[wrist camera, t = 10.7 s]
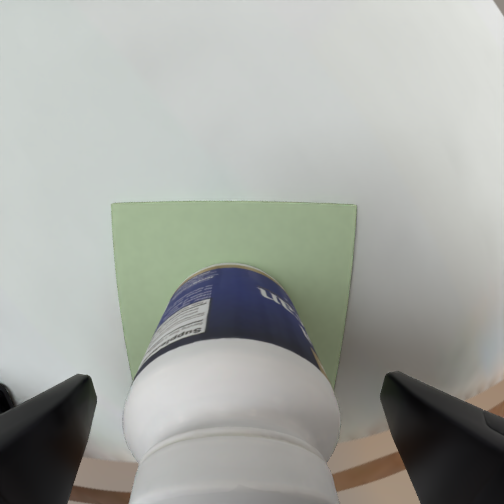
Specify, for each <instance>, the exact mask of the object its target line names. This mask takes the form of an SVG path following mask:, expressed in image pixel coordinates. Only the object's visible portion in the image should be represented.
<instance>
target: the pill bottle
mask: <svg viewBox="0 0 504 504" xmlns="http://www.w3.org/2000/svg"><path fill="white" fill-rule="evenodd" d="M122 421H123V432H124V436H125V440H126V443H127V445H128V448H129V450H130V451H131V453H132V455H133V457H134V458H135V459H136V461H137V462H138V464H139V466H138V470H137V472H136V476H135V480H134V484H133V487H132V492H131V496H130V501H129V504H340V503H339V499H338V496H337V492H336V489H335V485H334V480H333V477H332V474H331V471H330V469H329V467H328V466H327V462H328V460H329V459H330V457H331V455H332V454H333V452H334V450H335V447H336V445H337V442H338V439H339V434H340V427H341V416H340V410H339V406H338V402H337V399H336V397H335V394H334V391H333V389H332V386H331V383H330V381H329V379H328V377H327V375H326V373H325V370H324V368H323V366H322V364H321V362H320V360H319V358H318V356H317V353H316V351H315V349H314V347H313V344H312V342H311V341H310V339H309V336H308V334H307V332H306V330H305V327H304V325H303V324H302V321H301V319H300V317H299V315H298V313H297V311H296V309H295V307H294V305H293V303H292V301H291V299H290V297H289V295H288V294H287V292H286V291H285V290H284V288H283V287H282V286H281V285H280V284H279V283H278V282H277V281H276V280H275V279H274V278H273V277H271V276H270V275H268V274H267V273H265V272H264V271H262V270H260V269H258V268H255V267H253V266H250V265H246V264H241V263H220V264H214V265H211V266H208V267H205V268H202V269H200V270H198V271H197V272H195V273H193V274H192V275H190V276H189V277H188V278H186V279H185V280H184V281H183V282H182V283H181V284H180V285H179V287H178V288H177V289H176V291H175V292H174V294H173V295H172V297H171V299H170V301H169V303H168V305H167V307H166V309H165V311H164V313H163V315H162V317H161V320H160V322H159V324H158V326H157V328H156V330H155V332H154V335H153V337H152V339H151V341H150V344H149V346H148V348H147V350H146V353H145V355H144V357H143V359H142V362H141V364H140V366H139V368H138V371H137V373H136V375H135V377H134V380H133V382H132V385H131V388H130V390H129V393H128V396H127V398H126V401H125V405H124V410H123V418H122Z"/></svg>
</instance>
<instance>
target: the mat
mask: <svg viewBox="0 0 504 504" xmlns="http://www.w3.org/2000/svg"><path fill="white" fill-rule="evenodd" d="M356 212H357V206H356V205H353V204H333V203H307V202H268V201H167V202H129V203H113V204H111V214H112V233H113V247H114V259H115V270H116V279H117V288H118V296H119V304H120V312H121V318H122V325H123V331H124V338H125V343H126V349H127V355H128V360H129V365H130V370H131V375H132V380H134V377H135V375H136V373H137V371H138V368H139V366H140V364H141V362H142V359H143V357H144V355H145V353H146V350H147V348H148V346H149V344H150V341H151V339H152V337H153V335H154V332H155V330H156V328H157V326H158V324H159V322H160V320H161V317H162V315H163V313H164V311H165V309H166V307H167V305H168V303H169V301H170V299H171V297H172V295H173V294H174V292H175V291H176V289H177V288H178V287H179V285H180V284H181V283H182V282H183V281H184V280H185V279H186V278H188V277H189V276H190V275H192V274H193V273H195V272H197V271H198V270H200V269H202V268H205V267H208V266H211V265H214V264H220V263H241V264H246V265H250V266H253V267H255V268H258V269H260V270H262V271H264V272H265V273H267V274H268V275H270V276H271V277H273V278H274V279H275V280H276V281H277V282H278V283H279V284H280V285H281V286H282V287H283V288H284V290H285V291H286V292H287V294H288V295H289V297H290V299H291V301H292V303H293V305H294V307H295V309H296V311H297V313H298V315H299V317H300V319H301V321H302V324H303V325H304V327H305V330H306V332H307V334H308V336H309V339H310V341H311V342H312V344H313V347H314V349H315V351H316V353H317V356H318V358H319V360H320V362H321V364H322V366H323V368H324V370H325V373H326V375H327V377H328V379H329V381H330V383H331V386H332V389H333V391H334V386H335V381H336V375H337V370H338V364H339V358H340V353H341V346H342V340H343V334H344V327H345V320H346V313H347V305H348V298H349V289H350V281H351V272H352V262H353V251H354V240H355V227H356Z"/></svg>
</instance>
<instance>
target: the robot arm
mask: <svg viewBox="0 0 504 504" xmlns="http://www.w3.org/2000/svg"><path fill="white" fill-rule="evenodd" d="M380 400H381V403H382V406H383V409H384V412H385V416H386V419H387V422H388V425H389V428H390V432H391V434H392V437H393V440H394V442H395V444H396V447H397V449H398V451H399V454H400V456H401V458H402V460H403V463H404V465H405V467H406V470H407V472H408V474H409V477H410V479H411V481H412V484H413V486H414V488H415V491H416V493H417V496H418V498H419V500H420V503H421V504H504V418H502V417H500V416H497V415H495V414H492V413H490V412H488V411H485V410H484V411H483V409H481V408H478V407H476V406H474V405H472V404H469V403H467V402H465V401H462V400H460V399H458V398H456V397H454V396H451V395H449V394H447V393H445V392H442V391H440V390H438V389H436V388H434V387H432V386H429V385H427V384H425V383H423V382H421V381H419V380H417V379H414V378H412V377H410V376H408V375H406V374H404V373H402V372H399V371H396V372H389V373H387V374H386V376H385V379H384V382H383V386H382V389H381V393H380ZM96 404H97V396H96V393H95V389H94V386H93V382H92V379H91V377H90V376H88V375H83V374H76V375H75V376H73V377H71V378H69V379H67V380H65V381H63V382H61V383H60V384H58V385H56V386H54V387H52V388H50V389H48V390H46V391H45V392H43V393H41V394H39V395H37V396H35V397H33V398H31V399H29V400H27V401H26V402H24V403H22V404H20V405H18V406H16V407H14V406H13V403H12V401H11V399H10V397H9V394H8V392H7V390H6V389H5V388H4V387H3V386H2V385H1V384H0V504H67V503H68V500H69V497H70V493H71V490H72V487H73V484H74V481H75V477H76V474H77V471H78V468H79V465H80V462H81V459H82V457H83V454H84V451H85V448H86V445H87V442H88V438H89V434H90V429H91V425H92V420H93V416H94V412H95V408H96Z"/></svg>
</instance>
